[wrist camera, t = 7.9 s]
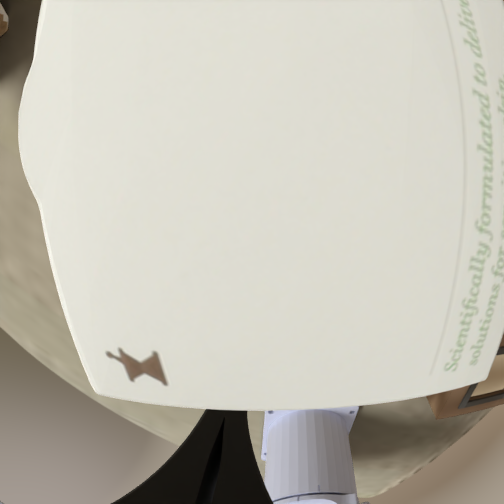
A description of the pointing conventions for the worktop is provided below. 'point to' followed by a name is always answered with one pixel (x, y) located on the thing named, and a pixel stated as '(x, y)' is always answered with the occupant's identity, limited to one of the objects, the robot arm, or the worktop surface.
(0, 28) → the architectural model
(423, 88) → the skincare box
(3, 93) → the worktop surface
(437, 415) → the walnut block
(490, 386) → the peg
